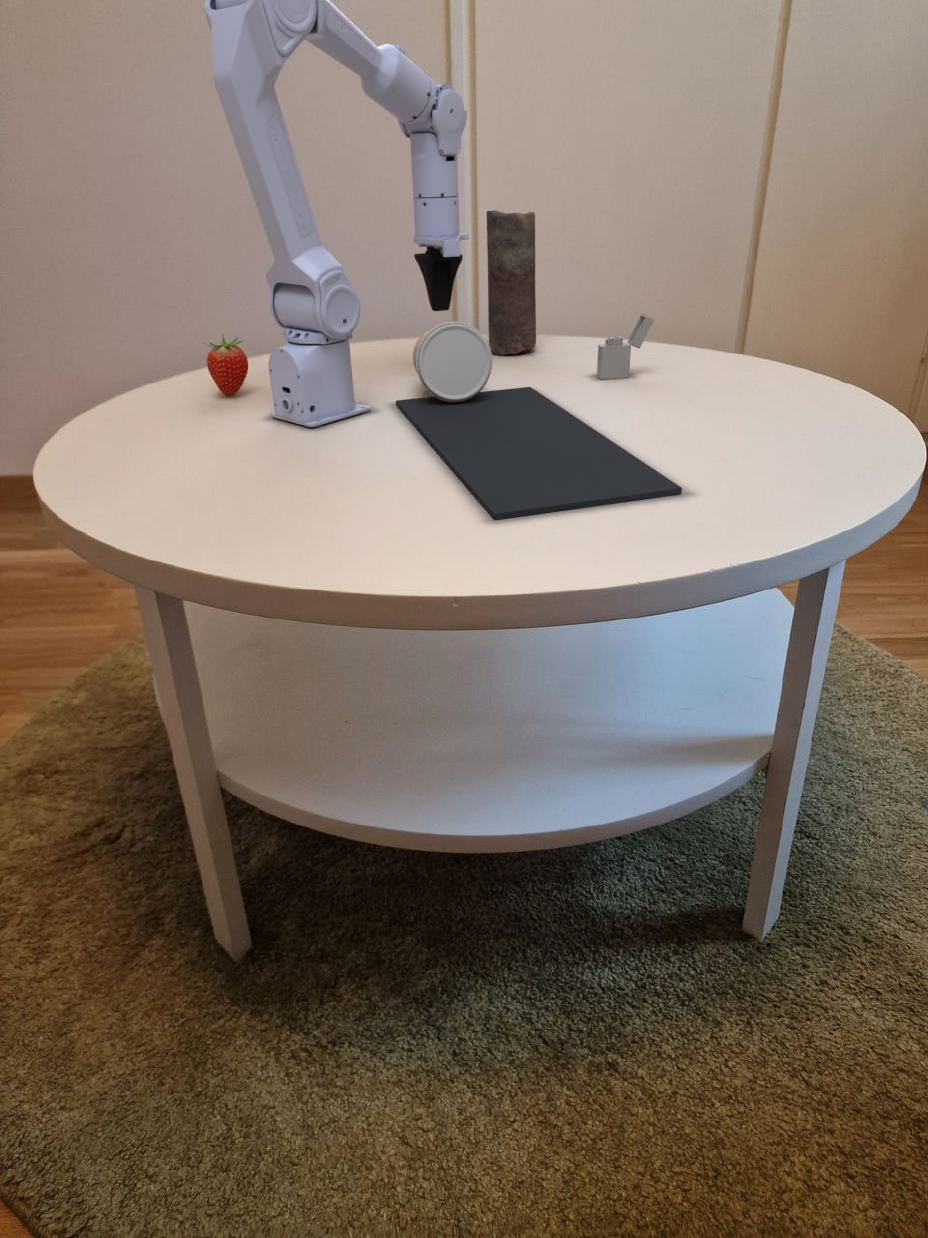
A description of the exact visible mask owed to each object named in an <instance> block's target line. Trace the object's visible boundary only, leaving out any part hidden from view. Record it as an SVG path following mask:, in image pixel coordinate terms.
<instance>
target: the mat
mask: <svg viewBox="0 0 928 1238" xmlns="http://www.w3.org/2000/svg"><path fill="white" fill-rule="evenodd" d="M395 405H396V406H397V408H398V409H399V411H400V412H401V413H402V414H404V416H405V417H406V419H407V420H408V421H409V422H410V423H411V425H413V427H414V428H415V429H416V430H417V432H419V434H420V435H421V436H422V437H423V438H424V440H426V442H427V443H428V444H429V445H430V446H431V448H432V449H433V450H434V451H435V452H436V453H437V454H438V456H439V457H440V459H442V461H444V463H445V464H446V465H447V466H448V467H449V469H450V470H451V471H452V472H453V473H454V475H455V476H456V477H457V479H459V480H460V481H461V483H462V484H463V485H464V486H465V487H466V489H467V490H468V491H469V492H470V493H471V494H472V495H473V496H474V498H475V499H476V500H477V502H478V503H479V504H480V505H481V506H482V507H483V508H484V510H485V511H486V512H487V513H488V514H489V515H490V516H491V517H492V519H493V520H494V521H496V520H504V519H510V518H518V517H524V516H525V517H526V516H532V515H533V516H534V515H540V514H546V513H553V512H561V511H567V510H574V509H582V508H583V509H584V508H588V507H589V508H590V507H597V506H605V505H610V504H617V503H626V502H631V501H640V500H646V499H647V500H648V499H654V498H661V497H668V496H675V495H681V494H682V493H683V488H682V486H680V485H678V484H677V483H675V482H674V481H672V480H671V479H669V478H668V477H667V476H665V475H663V474H662V473H661V472H659V471H657V470H656V469H654V468H653V467H652V466H650V465H648V464H647V463H646V462H644V461H642V460H641V459H639V458H638V457H636V456H635V455H633V454H632V453H630V452H629V451H627V450H626V449H625V448H623V447H621V446H620V445H619V444H617V443H615V442H614V441H612V440H611V439H610V438H608V437H606V436H605V435H603V434H602V433H600V432H599V431H598V430H596V429H594V428H593V427H592V426H590V425H589V424H587V423H586V422H584V421H582V420H581V419H580V418H578V417H577V416H575V415H573V414H572V413H571V412H569V411H567V410H566V409H564V408H563V407H562V406H560V405H558V404H557V403H555V402H554V401H553V400H551V399H549V398H548V397H546V396H545V395H544V394H542V393H541V392H539V391H538V390H536V389H534V388H533V387H532V386H525V387H523V386H522V387H516V388H515V387H513V388H504V389H494V390H485V391H484V390H483V391H480V392H479V393H477V394H476V395H475V396H473V397H472V398H470V399H467V400H464V401H460V402H448V401H443V400H440V399H438V398H436V397H434V396H427V397H415V398H406V399H397V400H395Z"/></svg>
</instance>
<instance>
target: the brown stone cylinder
mask: <svg viewBox="0 0 928 1238" xmlns="http://www.w3.org/2000/svg"><path fill="white" fill-rule="evenodd" d="M486 247H487V251H486V252H487V298H488V299H487V308H488V309H487V311H488V313H487V315H488V320H487V321H488V344H489V347H490V350H491V351H492V352H493V353H494V354H495V355H498V356H506V355H507V356H508V355H512V354H513V355H517V354H519V353H521V352H528V351H531V350H533V349H534V348H535V347H536V345H537V309H536V307H537V304H536V303H537V302H536V301H537V300H536V213H535V211H529V212H526V213H520V212H510V213H507V212H503V211H499V210H486Z"/></svg>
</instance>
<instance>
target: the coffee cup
mask: <svg viewBox="0 0 928 1238" xmlns="http://www.w3.org/2000/svg"><path fill="white" fill-rule="evenodd" d="M412 364H413V366H414V369H415V371H416V374H417V377H418V379H419V381H420V383H421V385H422V386H423V388H424V389H425V390H426V391H427V392H428V393H429V394H430V395H432V397H436V398H438V399H440V400H443V401H448V402H460V401H464V400H467V399H470V398H472V397H473V396H475V395H476V394H477V393H479V392H482V390H483V389H484V387H485V386H486V384H487V383H488V381H489V379H490V376H491V373H492V370H493V355H492V349H491V348H490V347H489V341H488V340H487V338H486V337H485V336H484V335H483V334H482V332H480V330H478V329H477V328H476V327H474V326H472V325H471V324H468V323H465V322H463V321H445V322H443V323H440V324H437V325H436V326H434V327H430V328H429V329H427V330H425V331H424V332H423V333H422V334H421V335H420V336H419V337H418V338H417V341H416V342H415V345H414V347H413V351H412Z"/></svg>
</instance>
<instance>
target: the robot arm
mask: <svg viewBox="0 0 928 1238" xmlns="http://www.w3.org/2000/svg"><path fill="white" fill-rule="evenodd" d="M203 12H204V15H205V18H206V21H207V24H208V26H209V27H208V28H209V30H210V33H211V63H212V64H211V68H212V69H211V72H212V78H213V83H214V86H215V89H216V92H217V95H218V98H219V101H220V104H221V107H222V109H223V112H224V115H225V118H226V121H227V124H228V127H229V130H230V133H231V136H232V138H233V142H234V145H235V147H236V150H237V152H238V157H239V159H240V162H241V165H242V168H243V170H244V173H245V176H246V179H247V180H246V181H247V182H248V186H249V188H250V192H251V194H252V197H253V200H254V203H255V205H256V209H257V212H258V214H259V218H260V221H261V223H262V226H263V228H264V229H263V230H264V233H265V234H266V237H267V240H268V243H269V246H270V250H271V252H272V255H273V258H274V260H273V262H272V264H271V265H270V267H269V268H268V269H267V272H266V273H265V279H266V282H267V284H268V287H269V309H270V313H271V315H272V318H273V321H274V322H275V323H276V324H277V325H278V326H279V327H280V328H282V331H283V337H284V338H285V339H286V340H287V341H286V342H285V344H283V345H281V346H279V347H277V348H275V349H273V350H272V351H271V353H270V355H269V358H268V373H269V380H270V387H271V395H272V402H273V403H272V404H273V410H274V411H273V412H271V413H270V415H271V417H272V418H275V419H279V420H282V421H286V422H290V423H293V424H297V425H300V426H304V427H308V428H316V427H319V426H323V425H325V424H329V423H332V422H335V421H340V420H343V419H346V418H350V417H353V416H356V415H359V414H363V413H366V412H369V411H371V406H370V405H366V404H362V403H357V402H355V390H354V379H353V369H352V358H351V347H350V340H351V339H353V332H354V331H355V329H357V326H358V324H359V320H360V316H361V301H360V298H359V295H358V293H357V291H356V289H355V288H354V287H353V285H351V283H350V282H349V280H348V278H347V276H346V274H345V270H344V268H343V267H344V266H343V265H342V263H340V262H339V261H338V260H337V258H335V257H334V256H333V255H332V254H331V253H330V252H329V251H328V250H327V249H326V248H325V247H324V245H323V243H322V240H321V236H320V232H319V230H318V227H317V223H316V221H315V217H314V213H313V211H312V208H311V204H310V200H309V197H308V194H307V190H306V187H305V185H304V181H303V178H302V174H301V171H300V168H299V165H298V160H297V158H296V155H295V152H294V149H293V144H292V142H291V138H290V135H289V131H288V129H287V125H286V121H285V118H284V116H283V112H282V109H281V106H280V102H279V100H278V96H277V92H276V90H275V89H276V88H275V86H276V82H277V80H278V78H279V75H280V74H281V71H282V68H283V66H284V64H285V63H286V62H287V60H288V59H289V58H290V57H291V56H292V55H293V53H294V52H295V51H296V50H297V49H298V48H299V47H300V45H301V44H302V43H303V42H304V41H306V42H308V43H310V44H311V45H312V46H314V47H316V48H317V49H319V50H320V51H322V52H323V53H324V54H326V55H328V56H329V57H331V58H332V59H333V60H335V61H336V62H338V63H339V64H341V65H342V66H344V67H345V68H347V69H348V70H350V71H351V72H353V73H354V74H356V75H357V76H359V77H360V85H361V88H362V91H363V93H364V94H365V95H366V96H367V97H368V98H369V99H371V100H372V101H373V102H374V103H376V104H377V105H379V106H380V107H381V108H383V109H384V110H385V111H387V113H389V114H390V115H392V116H393V117H394V118H396V120H397V123H398V125H399V128H400V131H401V132H402V134H403V135H404V137H405V138H407V139H408V138H409V142H410V145H409V146H410V157H411V158H410V163H411V181H412V197H413V198H412V200H413V201H412V202H413V218H414V220H413V221H414V235H413V243H414V244H417V247H419V248H426V250H425V251H424V252H421V253H415V254H413V257H414V259H415V261H416V263H417V265H418V268H419V270H420V272H421V275H422V277H423V282H424V284H425V285H424V286H425V289H426V293H427V298H428V301H429V305H430V308H431V310H432V311H434V312H445V311H449V310H450V306H451V303H452V296H453V288H454V284H455V280H456V277H457V273H458V271H459V269H460V265H461V264H462V261H463V254H461V242H462V241H466V240H467V241H468V240H469V233H467V232H460V209H459V206H460V204H459V202H460V201H459V172H458V171H459V170H458V169H459V168H458V155H459V154H460V151H461V149H462V136H463V132H464V130H465V128H466V125H467V118H468V112H467V111H468V110H465V103H464V101H463V98H462V96H461V94H460V93H459V92H458V91H457V90H456V89H455V88H454V86H452V85H450V84H448V83H441V84H438V83H437V82H436V81H435V80H434V79H433V78H432V74H431V73H430V72H429V71H428V70H427V69H425V70H423V69H421V68H420V67H419V66H418V65H417V64H415V62H413V61H412V60H411V59H410V58H409V57H407V55H406V49H405V48H404V47H403V46H401V45H400V44H398V43H397V44H390V43H384V44H381V45H379V46H377V45H376V43H374V42H373V41H372V40H371V39H370V38H369V37H368V36H367V35H366V34H365V33H364V32H363V31H362V30H361V29H359V28H358V26H357V25H356V24H354V23H353V22H352V21H351V19H349V18H348V17H347V16H346V15H345V14H344V13H343V11H341V10H340V9H339V8H338V6H336V4H334V3H333V2H332V1H331V0H205V3H204V4H203Z"/></svg>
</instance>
